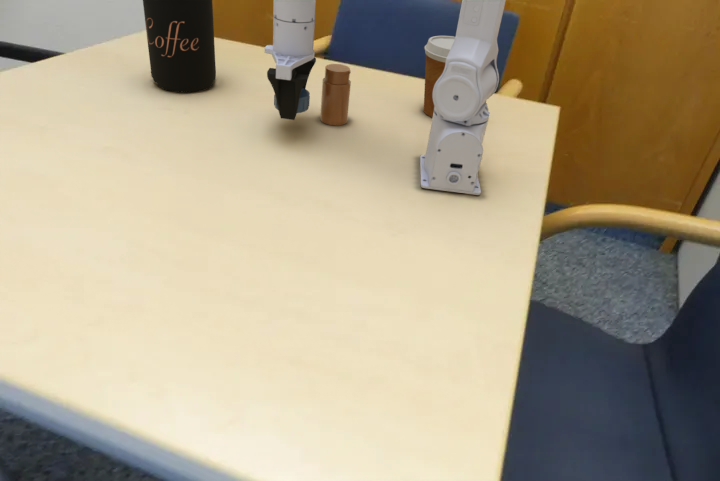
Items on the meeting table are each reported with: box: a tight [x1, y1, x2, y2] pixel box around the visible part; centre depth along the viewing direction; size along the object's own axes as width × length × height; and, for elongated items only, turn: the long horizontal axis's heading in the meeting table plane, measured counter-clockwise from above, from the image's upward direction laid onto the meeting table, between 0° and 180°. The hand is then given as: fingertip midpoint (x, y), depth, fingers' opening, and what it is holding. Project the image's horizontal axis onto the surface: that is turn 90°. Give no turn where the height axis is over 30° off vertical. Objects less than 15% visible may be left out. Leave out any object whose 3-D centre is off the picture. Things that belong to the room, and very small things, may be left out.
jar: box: [319, 63, 352, 126], centre depth 87 cm, size 4×4×8 cm
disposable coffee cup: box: [423, 35, 456, 118], centre depth 94 cm, size 10×10×12 cm
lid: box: [273, 88, 311, 114], centre depth 83 cm, size 5×5×2 cm
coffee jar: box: [142, 0, 217, 94], centre depth 91 cm, size 11×11×18 cm
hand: (291, 111), depth 84 cm, fingers closed on lid, 5 cm apart
